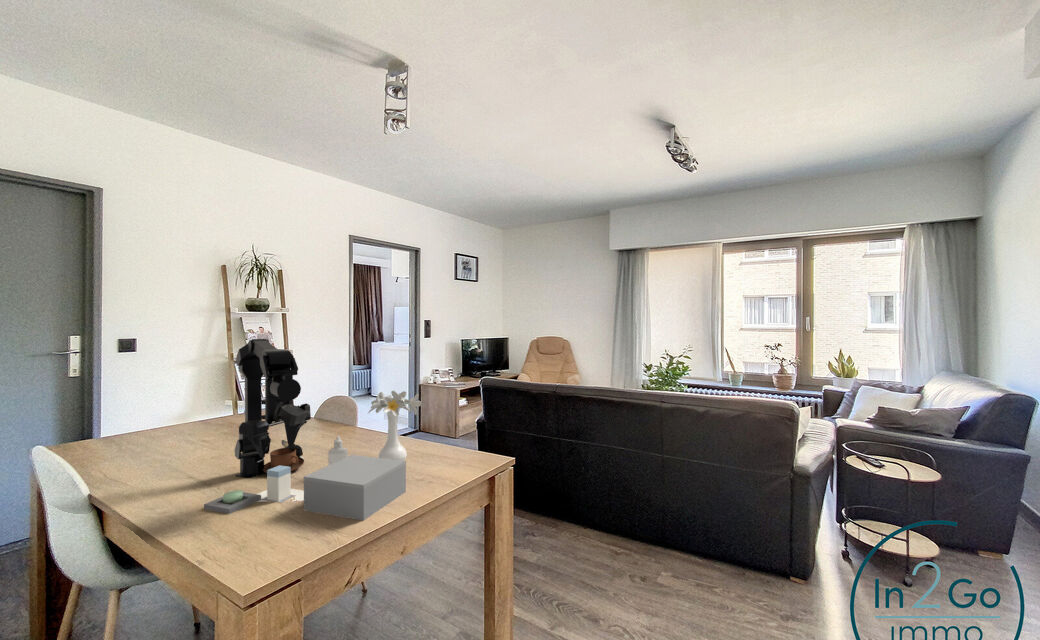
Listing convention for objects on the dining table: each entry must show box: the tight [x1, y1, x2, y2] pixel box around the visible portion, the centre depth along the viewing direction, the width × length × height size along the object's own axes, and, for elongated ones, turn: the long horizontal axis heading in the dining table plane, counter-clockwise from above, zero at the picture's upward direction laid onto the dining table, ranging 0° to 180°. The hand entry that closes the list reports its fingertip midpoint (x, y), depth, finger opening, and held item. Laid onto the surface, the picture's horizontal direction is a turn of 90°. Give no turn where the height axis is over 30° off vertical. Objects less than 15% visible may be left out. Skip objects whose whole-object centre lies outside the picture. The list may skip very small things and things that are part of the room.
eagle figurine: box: [280, 439, 306, 460], centre depth 143 cm, size 8×7×9 cm
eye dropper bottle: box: [327, 435, 349, 466], centre depth 137 cm, size 4×6×12 cm
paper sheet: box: [256, 488, 304, 504], centre depth 117 cm, size 16×12×1 cm
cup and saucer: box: [262, 447, 305, 474], centre depth 139 cm, size 12×12×6 cm
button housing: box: [203, 491, 261, 515], centre depth 113 cm, size 9×9×2 cm
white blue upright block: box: [266, 465, 292, 501], centre depth 117 cm, size 4×4×8 cm
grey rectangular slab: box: [303, 454, 407, 521], centre depth 115 cm, size 18×18×9 cm
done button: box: [222, 489, 244, 504], centre depth 113 cm, size 4×4×2 cm
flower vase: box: [367, 390, 423, 461], centre depth 145 cm, size 13×18×25 cm
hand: (277, 452), depth 118 cm, fingers open, 9 cm apart
